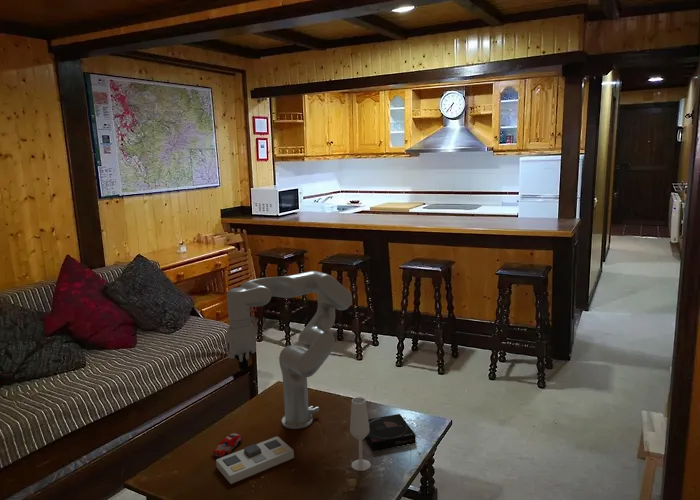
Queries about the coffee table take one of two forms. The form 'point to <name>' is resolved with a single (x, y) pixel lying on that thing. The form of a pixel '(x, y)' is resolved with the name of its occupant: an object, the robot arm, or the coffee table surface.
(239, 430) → the coffee table surface
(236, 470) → the button board
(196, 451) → the coffee table surface
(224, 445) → the race car
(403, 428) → the portable cd player
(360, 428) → the champagne flute
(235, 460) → the button
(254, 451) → the button mid
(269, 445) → the button
